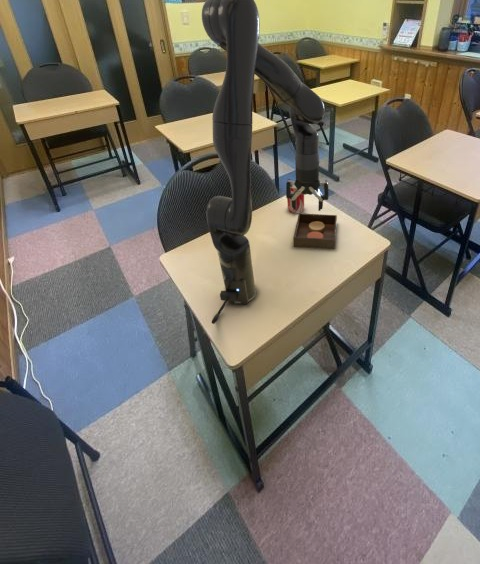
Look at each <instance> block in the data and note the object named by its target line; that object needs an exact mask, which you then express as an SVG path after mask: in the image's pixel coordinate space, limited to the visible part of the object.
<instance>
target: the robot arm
mask: <svg viewBox="0 0 480 564" xmlns="http://www.w3.org/2000/svg"><path fill="white" fill-rule="evenodd" d="M201 22H202V26H203V29H204V31H205V33H206V35H207V36H208V38H209V39H210V40H211V41H212V42H213V43H214V44H215V45H216V46H218V47H219V48H221V49H222V50H223V51H225V52H226V68H225V74H224V77H223V80H222V84H221V86H220V89H219V92H218V94H217V96H216V98H215V102H214V106H213V109H212V120H211V121H212V143H213V147H214V150H215V152H216V154H217V157H218V159H219V161H220V162H221V164H222V167H223V168H224V170H225V172H226V175H227V177H228V179H229V184H230V190H231V197H228V196H223V195H215V196H213V197H212V198H211V199H210V200H209V201H208V203H207V207H206V211H205V213H206V214H205V216H206V224H207V228H208V231H209V234H210V237H211V238H210V239H211V242H212V244H213V247H214V248H215V250H216V251H217V256H218V261H219V266H220V271H221V274H222V275H221V276H222V280H223V284H224V289H225V290H221V291H220V293H219V297H220V301H222V302H223V301H224V302H223V303H222V305H221V307H220V308H219V310H218V311H217V312H216V314H215V315H213V318H212V320H211V324H213V325H215V324H216V323H217V322H218V320H219V317H220V314H221V313H222V311H223V309H224V308H225V306H226V305H227V303H228V304H237V305H248V304H249V302H251V301H253V300H254V299H255V298H256V296H257V288H256V284H255V283H256V281H255V275H254V268H253V260H252V253H251V252H252V251H251V244H250V240H249V238H248V237H247V236H245V235H247V234H248V232H249V231H250V228H251V225H252V222H253V221H252V220H253V197H252V181H251V180H252V175H251V172H252V171H251V170H252V169H251V167H252V165H251V164H252V143H253V109H254V107H253V105H254V89H255V76H257V78H258V79H260V80H261V81H262V82H263V83H264V84H265V85H266V86H267V87H268V88H269V90H270V91H272V92H273V94H274V95H275V96H276V97H277V98H278V99H279V100H280V101H281V102H282V103H284V104H285V105H287V106H289V108H288V109H289V110H288V112H289V118H290V122H291V127H292V130H293V133H294V136H295V157H294V160H295V162H294V163H295V180H291V179H290V178H287V181H286V185H285V186H286V187H285V189H286V190H285V198H286V200H287V199H291V200H292V208H294V210H296V208H297V203H296V198H297V197H298V196H299V195H300V194H301V193H302V194H303V195H304V196H305V195H309V196H311V195H314V197H315V198H317V199H318V211H319V212H321V210H323V207H324V202H325V201H328V200H329V196H330V195H329V181H328V180H327V179H325V180H324V181H320V153H319V151H320V150H319V148H320V147H319V145H320V144H319V143H320V141H319V140H320V138H319V137H320V136H319V132H318V131H317V130H316V129H315V128H314V127H313V126H312V125H317V124H319V123H321V122H322V120H323V119H324V117H325V113H326V108H325V107H326V106H325V104H324V101H323V99H322V98H321V97H320V96H319V94H317V93H316V92H315V91H313V90H312V89H311V88H310V87H309V86H308V85H306V84H305V83H304V82H302V80H301V78H300V77H298V75H297V74H296V73H295V71H294V70H293V69H292V67H290V66H289V64H288V63H286V61H285V60H283V59H282V58H281V57H278V56H277V55H276V54H274V52H271V50H269V49H267V48H266V47H264V46H263V45H262V44H260V43H259V41H260V40H259V39H260V26H261V25H260V24H261V23H260V22H261V21H260V13H259V9H258V6H257V3H256V1H255V0H205V2H204V3H203V6H202V8H201ZM293 185H295V186H296V188H297V189H296V191H295V192H294V194H291V188H292V187H293ZM320 186H321V188H322V189H323V190H324V192H323V193H324V194H322V192H321V191H320V189H319V188H320Z"/></svg>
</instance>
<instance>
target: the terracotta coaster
mask: <svg viewBox="0 0 480 564" xmlns="http://www.w3.org/2000/svg"><path fill="white" fill-rule="evenodd" d="M307 238H323V234H322V233H320V232H310V233H308V235H307Z"/></svg>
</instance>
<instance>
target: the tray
mask: <svg viewBox="0 0 480 564" xmlns="http://www.w3.org/2000/svg"><path fill="white" fill-rule="evenodd" d="M297 215H298V216H297V219H296V224H295V229H294V233H293V238H292V239H293V247H294V248H305V249H307V248H309V249H323V250H324V249H326V250H335V249H336V237H337V222H338V221H337V220H338V215H337V214H319V213H301V212H300V213H298V214H297ZM315 221H319V222H322V223H323V224H324V225H325V230H324V232H322V234H323V238H307V235H308V233H310V231H309V224H310V223H311V222H315Z"/></svg>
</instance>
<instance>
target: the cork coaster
mask: <svg viewBox="0 0 480 564" xmlns="http://www.w3.org/2000/svg"><path fill="white" fill-rule="evenodd" d="M324 230H325V225H324V224H323V223H322V222H319V221H315V222H311V223H310V224H309V231H310V232H320V233H322V232H324Z"/></svg>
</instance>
